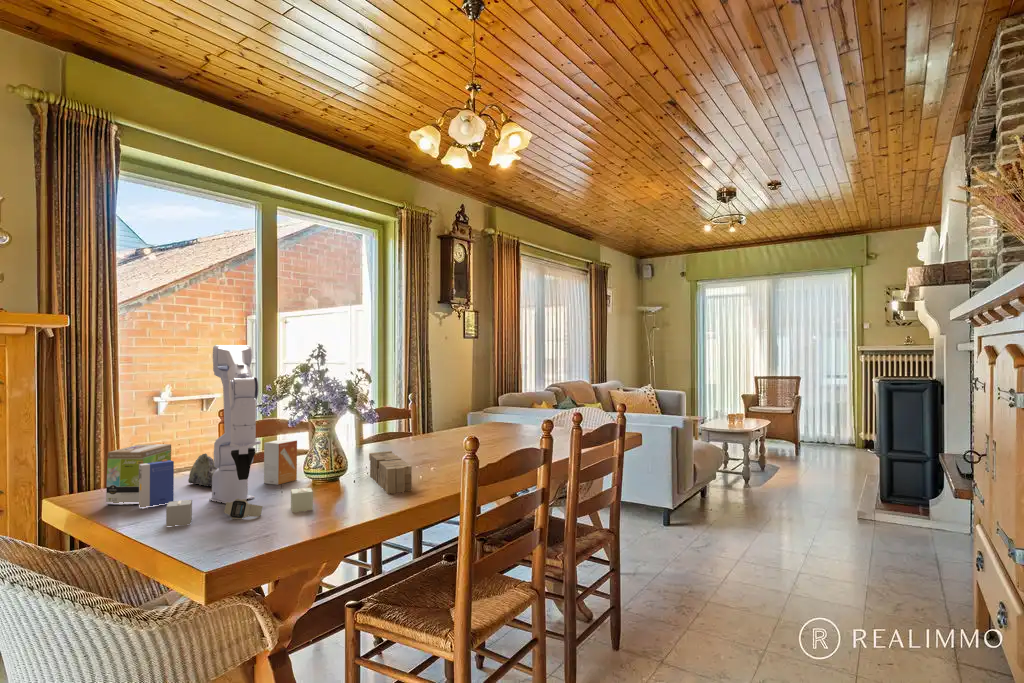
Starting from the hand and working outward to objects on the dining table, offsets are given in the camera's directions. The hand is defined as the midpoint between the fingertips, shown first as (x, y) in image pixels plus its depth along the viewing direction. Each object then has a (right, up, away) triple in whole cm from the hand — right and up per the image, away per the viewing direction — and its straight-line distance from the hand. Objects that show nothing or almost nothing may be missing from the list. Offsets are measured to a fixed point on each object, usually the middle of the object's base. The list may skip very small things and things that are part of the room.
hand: (243, 478), depth 145 cm
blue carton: (-29, -10, +10) cm, 32 cm away
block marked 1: (-13, -10, -6) cm, 17 cm away
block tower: (+29, -11, +36) cm, 48 cm away
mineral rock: (-28, -11, +34) cm, 45 cm away
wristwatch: (0, -10, 0) cm, 10 cm away
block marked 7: (+13, -10, +6) cm, 17 cm away
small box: (-6, -11, +39) cm, 41 cm away
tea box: (-38, -10, +18) cm, 43 cm away
